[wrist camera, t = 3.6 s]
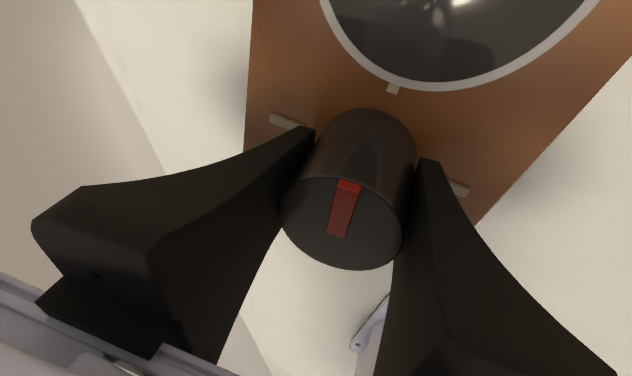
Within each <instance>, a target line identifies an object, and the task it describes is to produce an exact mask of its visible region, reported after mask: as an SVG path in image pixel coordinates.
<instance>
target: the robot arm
mask: <svg viewBox="0 0 632 376" xmlns="http://www.w3.org/2000/svg"><path fill="white" fill-rule="evenodd" d="M315 134H316V129H312V128H309V127H305V126H301V125H299V126H297V127H295V128H293V129H291V130H289V131H287V132H285V133H283V134H281V135H279V136H277V137H275V138H273V139H271V140H269V141H267V142H265V143H263V144H261V145H259V146H257V147H254V148H252V149H250V150H247V151H245V152H243V153H241V154H238V155H236V156H233V157H231V158H228V159H225V160H222V161H219V162H216V163H213V164H210V165H207V166H203V167H200V168H196V169H192V170H188V171H184V172H179V173H175V174H171V175H166V176H161V177H156V178H149V179H143V180H136V181H130V182H120V183H111V184H101V185H90V186H81V187H79V188H78V189H76V190H75V191H73V192H72V193H71V194H69V195H68V196H66V197H65V198H63V199H62V200H60V201H59V202H57V203H56V204H54V205H53V206H52V207H50V208H49V209H47V210H46V211H44V212H43V213H41V214H40V215H39V216H37V217H36V218H35V219H33V220H32V223H31V232H32V235H33V237H34V239H35V240H36V242H37V243H38V245H39V246H40V247H41V249H42V250H43V251H44V252H45V254H46V255H47V256H48V257H49V258H50V260H51V261H52V262H53V263H54V265H55V266H56V267H57V268H58V269H59V271H60V272H61V273H62V274H63V277H62V278H61V279H60V280H58V281H57V282H56V283H55V284H54V285H53V286H52V287H50V288H49V289H48V290H47V291H44V290H42V289H40V288H37V287H35V286H33V285H30V284H28V283H26V282H24V281H21V280H19V279H17V278H14V277H12V276H10V275H7V274H5V273H3V272H1V271H0V376H132V375H131V374H129V373H127V372H126V371H124V370H122V369H121V368H119V367H117V366H116V365H118V366H120V367H122V368H124V369H126V370H128V371H131V372H133V373H135V374H137V375H139V376H239V375H237V374H235V373H233V372H230V371H228V370H226V369H223V368H221V367H219V366H216V365H217V362H218V360H219V357H220V355H221V352H222V350H223V347H224V345H225V343H226V340H227V338H228V336H229V333H230V331H231V329H232V326H233V323H234V321H235V319H236V317H237V315H238V313H239V310H240V308H241V306H242V304H243V301H244V299H245V297H246V295H247V293H248V290H249V288H250V286H251V284H252V282H253V280H254V278H255V275H256V273H257V271H258V269H259V267H260V265H261V263H262V261H263V259H264V257H265V255H266V253H267V251H268V249H269V247H270V246H271V244H272V242H273V240H274V239H275V237H276V236H277V234H278V233H279V231H280V229H281V228H282V226H281V223H280V220H279V214H278V206H279V201H280V198H281V195H282V194H283V192H284V191H285V189H286V187H287V186H288V184H289V183H290V181H291V180H292V178H293V177H294V175H295V173H296V172H297V170H298V169H299V167H300V166H301V164H302V163H303V161H304V159H305V158H306V156H307V155H308V153H309V152H310V150H311V149H312V147H313V145H314V143H315ZM349 348H350V349H351V350H352V351H354V352H357V353H359V356H358V361H357V366H356V370H355V375H354V376H617V373H616V371H614V370H613V369H612V368H611V367H610V366H609V365H607V364H606V363H605V362H604V361H603V360H602V359H600V358H599V357H598V356H597V355H596V354H595V353H593V352H592V351H591V350H590V349H589V348H588V347H586V346H585V345H584V344H583V343H582V342H581V341H579V340H578V339H577V338H576V337H575V336H574V335H572V334H571V333H570V332H569V331H568V330H567V329H565V328H564V327H563V326H562V325H561V324H560V323H559V322H558V321H557V320H556V319H555V318H554V317H553V316H552V315H551V314H550V313H548V312H547V311H546V310H545V309H544V308H543V307H542V306H541V305H540V304H539V303H538V302H537V301H536V300H535V299H534V298H533V297H532V296H531V295H530V294H529V293H528V292H527V291H526V290H525V289H524V288H523V287H522V286H521V285H520V283H519V282H518V281H517V280H516V279H515V278H514V277H513V276H512V275H511V273H510V272H509V271H508V270H507V269H506V268H505V267H504V266H503V264H502V263H501V262H500V261H499V260H498V259H497V257H496V256H495V255H494V254H493V252H492V251H491V250H490V248H489V247H488V246H487V244H486V243H485V242H484V240H483V239H482V238H481V236H480V235H479V234H478V232H477V231H476V229H475V228H474V226H473V225H472V223H471V222H470V220H469V218H468V217H467V215H466V214H465V212H464V210H463V208H462V207H461V205H460V203H459V201H458V199H457V197H456V195H455V194H454V192H453V190H452V188H451V185H450V183H449V181H448V179H447V177H446V175H445V173H444V170H443V168H442V166H441V164H440V162H438V161H434V160H430V159H426V158H423V157H420V159H419V162H418V164H417V167H416V169H415V172H414V177H413V184H412V191H411V198H410V205H409V212H408V219H407V226H406V233H405V240H404V244H403V247H402V249H401V251H400V252H399V254H398V255H397V256H396V257H395V258H394V263H393V274H392V284H391V291H390V295H389V296H387V297H386V298H385V300H384V301H383V302H382V303H381V305H380V306H379V307H378V308H377V310H376V311H375V312H374V313H373V314H372V316H371V317H370V318H369V319H368V321H367V322H366V323H365V324H364V326H363V327H362V328H361V329H360V331H359V332H358V333H357V334H356V336H355V337H354V338H353V339H352V340H351V342H350V344H349ZM114 364H116V365H114Z"/></svg>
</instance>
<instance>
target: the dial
mask: <svg viewBox="0 0 632 376" xmlns="http://www.w3.org/2000/svg"><path fill="white" fill-rule="evenodd" d="M415 163H416V147H415V143H414V140H413V138H412V136H411V134H410V133H409V131H408V130H407V129H406V128H405V126H404V125H403V124H402V123H400V122H399V121H398V120H397V119H395V118H394V117H392V116H390V115H388V114H386V113H384V112H381V111H378V110H373V109H354V110H350V111H346V112H344V113H341V114H339V115H338V116H336V117H335V118H333V119H332V120H331V121H330V122H329V123H328V124H327V125H326V127H325V128H324V130H323V131H322V133H321V135H320V136H319V138H318V139H317V141H316V142H315V144H314V145H313V147H312V149H311V150H310V152H309V153H308V155H307V156H306V158H305V159H304V161H303V163H302V164H301V166H300V167H299V169H298V170H297V172H296V173H295V175H294V177H293V178H292V180H291V181H290V183H289V184H288V186H287V187H286V189H285V191H284V192H283V194H282V195H281V198H280V201H279V206H278V214H279V220H280V223H281V226H282V228H283V230H284V232H285V233H286V235H287V236H288V237H289V239H290V240H291V241H292V242H293V243H294V244H295V245H296V246H297V247H298V248H299V249H300V250H301V251H303V252H304V253H305V254H307V255H308V256H310V257H312V258H313V259H315V260H317V261H319V262H321V263H324V264H326V265H329V266H332V267H335V268H339V269H345V270H354V271H363V270H371V269H375V268H379V267H381V266H384V265H386V264H388V263H389V262H391V261H392V260H393V259H394V258H395V257H396V256H397V255H398V254H399V252H400V251H401V249H402V247H403V244H404V240H405V233H406V226H407V219H408V212H409V205H410V198H411V191H412V184H413V177H414V170H415Z"/></svg>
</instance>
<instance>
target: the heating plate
mask: <svg viewBox="0 0 632 376" xmlns="http://www.w3.org/2000/svg"><path fill="white" fill-rule="evenodd" d="M319 1H320V4H321V7H322V10H323V12H324V15H325V17H326V19H327V22H328V24H329V26H330V27H331V29H332V31H333V33H334V34H335V36H336V38H337V39H338V40H339V42H340V43H341V45H342V46H343V47H344V49H345V50H346V51H347V52H348V53H349V54H350V55H351V56H352V57H353V58H354V59H355V60H356V62H358V63H359V64H360V65H361V66H363V67H364V68H365V69H366V70H368V71H369V72H371V73H372V74H374V75H376V76H377V77H379V78H381V79H383V80H385V81H388V82H390V83H392V84H394V85H398V86H401V87H405V88H408V89H414V90H421V91H439V92H442V91H452V90H460V89H465V88H470V87H475V86H478V85H481V84H484V83H487V82H490V81H494V80H496V79H498V78H500V77H503V76H505V75H507V74H510V73H512V72H514V71H516V70H517V69H519V68H521V67H523V66H524V65H526V64H528V63H530V62H532V61H533V60H535V59H536V58H537V57H539V56H540V55H542V54H543V53H545V52H546V51H548V50H549V49H550V48H552V47H553V46H554V45H555V44H557V43H558V42H559V41H560V40H561V39H563V38H564V37H565V36H566V35H567V34H568V33H570V32H571V31H572V30H573V29H574V28H575V27H576V26H577V25H578V24H579V23H580V22H581V21H582V20H583V19H584V18H585V17H586V16H587V15H588V14H589V13H590V12H591V11H592V9H593V8H594V7H595V6H596V5H597V3H598V2H599V1H600V0H319Z"/></svg>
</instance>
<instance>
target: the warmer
mask: <svg viewBox="0 0 632 376" xmlns="http://www.w3.org/2000/svg"><path fill="white" fill-rule="evenodd" d="M631 56H632V0H600V1H599V2H598V3H597V5H596V6H595V7H594V8H593V9H592V11H591V12H590V13H589V14H588V15H587V16H586V17H585V18H584V19H583V20H582V21H581V22H580V23H579V24H578V25H577V26H576V27H575V28H574V29H573V30H572V31H571V32H570V33H568V34H567V35H566V36H565V37H564V38H563V39H561V40H560V41H559V42H558V43H557V44H555V45H554V46H553V47H552V48H550V49H549V50H548V51H546V52H545V53H543V54H542V55H540V56H539V57H537V58H536V59H535V60H533V61H532V62H530V63H528V64H526V65H524V66H523V67H521V68H519V69H517V70H516V71H514V72H512V73H510V74H507V75H505V76H503V77H500V78H498V79H496V80H494V81H490V82H487V83H484V84H481V85H478V86H475V87H470V88H465V89H460V90H452V91H442V92H439V91H421V90H414V89H408V88H405V87H401V86H398V85H394V84H392V83H390V82H388V81H385V80H383V79H381V78H379V77H377V76H376V75H374V74H372V73H371V72H369V71H368V70H366V69H365V68H364V67H363V66H361V65H360V64H359V63H358V62H356V60H355V59H354V58H353V57H352V56H351V55H350V54H349V53H348V52H347V51H346V50H345V49H344V47H343V46H342V45H341V43H340V42H339V40H338V39H337V38H336V36H335V34H334V33H333V31H332V29H331V27H330V26H329V24H328V22H327V19H326V17H325V15H324V12H323V10H322V7H321V4H320V1H319V0H253V13H252V28H251V43H250V58H249V73H248V88H247V103H246V118H245V133H244V147H243V152H245V151H247V150H250V149H252V148H254V147H257V146H259V145H261V144H263V143H265V142H267V141H269V140H271V139H273V138H275V137H277V136H279V135H281V134H283V133H285V132H287V131H289V130H291V129H293V128H295V127H297V126H299V125H301V126H305V127H309V128H312V129H316V134H315V142H316V141H317V139H318V138H319V136H320V135H321V133H322V131H323V130H324V128H325V127H326V125H327V124H328V123H329V122H330V121H331V120H332V119H333V118H335V117H336V116H338V115H339V114H341V113H344V112H346V111H350V110H354V109H373V110H378V111H381V112H384V113H386V114H388V115H390V116H392V117H394V118H395V119H397V120H398V121H399V122H400V123H402V124H403V125H404V126H405V128H406V129H407V130H408V131H409V133H410V134H411V136H412V138H413V140H414V143H415V147H416V163H415V169H416V167H417V164H418V162H419V159H420V157H423V158H426V159H430V160H434V161H438V162H440V164H441V166H442V168H443V170H444V173H445V175H446V177H447V179H448V181H449V183H450V185H451V188H452V190H453V192H454V194H455V195H456V197H457V199H458V201H459V203H460V205H461V207H462V208H463V210H464V212H465V214H466V215H467V217H468V218H469V220H470V222H471V223H472V225H473V226H475V225H476V224H477V223H478V222H479V221H480V220H481V219H482V218H483V217H484V216H485V214H486V213H487V212H488V211H489V210H490V209H491V208H492V207H493V206H494V205H495V204H496V202H497V201H498V200H499V199H500V198H501V197H502V196H503V195H504V194H505V193H506V192H507V191H508V189H509V188H510V187H511V186H512V185H513V184H514V183H515V182H516V181H517V180H518V179H519V177H520V176H521V175H522V174H523V173H524V172H525V171H526V170H527V169H528V168H529V167H530V165H531V164H532V163H533V162H534V161H535V160H536V159H537V158H538V157H539V156H540V155H541V154H542V152H543V151H544V150H545V149H546V148H547V147H548V146H549V145H550V144H551V143H552V142H553V140H554V139H555V138H556V137H557V136H558V135H559V134H560V133H561V132H562V131H563V130H564V128H565V127H566V126H567V125H568V124H569V123H570V122H571V121H572V120H573V119H574V118H575V117H576V115H577V114H578V113H579V112H580V111H581V110H582V109H583V108H584V107H585V106H586V105H587V103H588V102H589V101H590V100H591V99H592V98H593V97H594V96H595V95H596V94H597V93H598V91H599V90H600V89H601V88H602V87H603V86H604V85H605V84H606V83H607V82H608V81H609V80H610V78H611V77H612V76H613V75H614V74H615V73H616V72H617V71H618V70H619V69H620V68H621V66H622V65H623V64H624V63H625V62H626V61H627V60H628V59H629V58H630V57H631ZM314 144H315V143H314ZM414 172H415V170H414Z"/></svg>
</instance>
